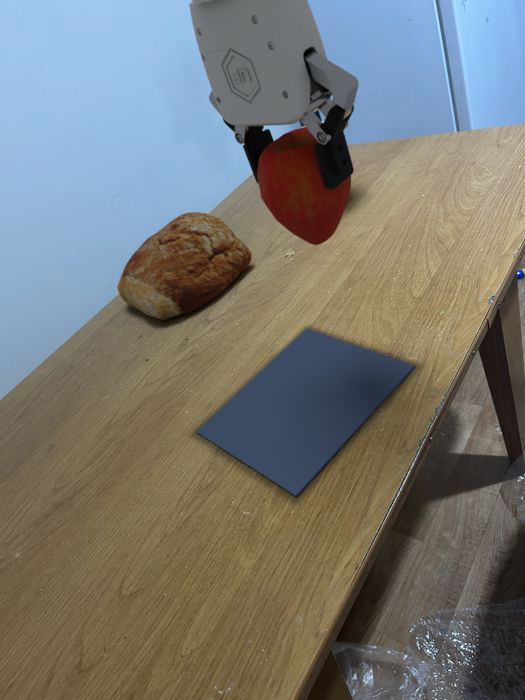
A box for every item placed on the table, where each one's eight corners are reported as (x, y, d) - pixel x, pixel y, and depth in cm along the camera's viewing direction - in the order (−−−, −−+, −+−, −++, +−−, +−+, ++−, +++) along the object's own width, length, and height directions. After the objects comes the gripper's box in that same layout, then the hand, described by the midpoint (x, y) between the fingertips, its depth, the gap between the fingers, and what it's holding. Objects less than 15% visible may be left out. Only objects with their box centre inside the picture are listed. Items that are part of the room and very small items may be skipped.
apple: (359, 257, 52) (326, 142, 45) (272, 271, 55) (230, 166, 49) (371, 209, 58) (343, 101, 51) (292, 224, 61) (257, 126, 55)
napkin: (415, 367, 64) (415, 365, 64) (296, 497, 56) (295, 495, 56) (307, 329, 76) (306, 328, 76) (197, 433, 68) (196, 431, 68)
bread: (259, 265, 94) (237, 211, 88) (178, 335, 86) (147, 280, 80) (187, 248, 108) (163, 201, 102) (112, 307, 101) (81, 259, 95)
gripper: (133, 2, 47) (216, 194, 57) (279, -47, 35) (352, 208, 45) (199, -31, 50) (267, 156, 60) (355, -87, 38) (407, 160, 48)
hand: (303, 178), depth 53 cm, fingers closed on apple, 8 cm apart
